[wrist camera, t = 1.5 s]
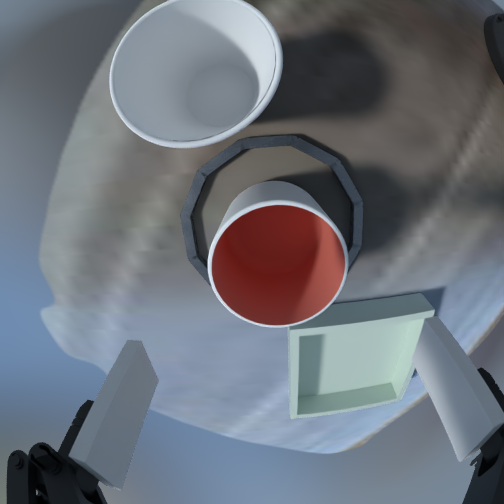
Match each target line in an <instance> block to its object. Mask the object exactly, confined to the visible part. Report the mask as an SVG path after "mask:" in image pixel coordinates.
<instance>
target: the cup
mask: <svg viewBox="0 0 504 504" xmlns="http://www.w3.org/2000/svg"><path fill="white" fill-rule="evenodd" d="M347 272H348V252H347V247H346V244H345V241H344V238H343V236H342V234H341V232H340V231H339V229H338V228H337V226H336V225H335V224H334V223H333V221H332V220H331V219H330V218H329V217H328V215H327V214H326V213H325V212H324V211H323V209H322V208H321V207H320V206H319V205H318V203H317V202H316V201H315V200H314V199H313V198H312V197H311V195H309V194H308V193H307V192H306V191H305V190H303V189H302V188H300V187H298V186H296V185H294V184H291V183H288V182H283V181H267V182H261V183H258V184H255V185H253V186H250V187H249V188H247V189H245V190H244V191H243V192H241V193H240V194H239V195H238V196H237V197H236V198H235V199H234V200H233V202H232V203H231V205H230V206H229V208H228V210H227V212H226V214H225V216H224V218H223V220H222V223H221V225H220V227H219V229H218V231H217V233H216V235H215V237H214V240H213V242H212V244H211V247H210V251H209V255H208V274H209V280H210V283H211V286H212V288H213V290H214V292H215V294H216V296H217V297H218V299H219V300H220V302H221V303H222V304H223V305H224V306H225V307H226V308H227V309H228V310H229V311H230V312H231V313H233V314H234V315H236V316H237V317H239V318H241V319H243V320H245V321H247V322H249V323H252V324H255V325H259V326H264V327H288V326H294V325H297V324H301V323H304V322H306V321H308V320H310V319H312V318H314V317H316V316H318V315H319V314H320V313H322V312H323V311H324V310H326V309H327V308H328V307H329V306H330V305H331V304H332V303H333V302H334V300H335V299H336V298H337V296H338V295H339V293H340V291H341V290H342V288H343V285H344V283H345V280H346V277H347Z"/></svg>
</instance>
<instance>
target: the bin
mask: <svg viewBox="0 0 504 504" xmlns="http://www.w3.org/2000/svg"><path fill="white" fill-rule="evenodd" d="M434 312H435V309H434V308H433V307H432V305H431V304H430V303H429V302H428V301H427V299H426V298H425V297H424V296H423V295H422V293H416V294H409V295H402V296H395V297H388V298H381V299H373V300H365V301H357V302H348V303H339V304H331V305H330V306H329V307H328V308H327V309H326V310H324V311H323V312H322V313H320V314H319V315H318V316H316V317H314V318H312V319H310V320H308V321H306V322H304V323H301V324H297V325H294V326H288V364H289V409H290V419H294V418H305V417H315V416H323V415H330V414H337V413H343V412H349V411H355V410H360V409H365V408H370V407H375V406H380V405H384V404H388V403H392V402H396V401H400V400H401V399H402V397H403V395H404V393H405V391H406V389H407V386H408V384H409V382H410V379H411V377H412V375H413V372H414V370H415V366H414V364H413V362H412V361H411V360H412V357H413V354H414V351H415V348H416V345H417V342H418V339H419V336H420V333H421V330H422V326H423V323H424V319H425V318H429V317H433V315H434Z"/></svg>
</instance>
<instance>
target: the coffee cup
mask: <svg viewBox="0 0 504 504" xmlns="http://www.w3.org/2000/svg"><path fill="white" fill-rule="evenodd" d="M268 31H269V32H268ZM272 40H273V41H272ZM273 44H274V45H273ZM275 55H276V58H275ZM275 62H276V65H275ZM282 68H283V52H282V46H281V42H280V39H279V37H278V34H277V32H276V30H275V28H274V27H273V25H272V24H271V22H270V21H269V20H268V19H267V18H266V17H265V16H264V15H263V14H262V13H261V12H260V11H259V10H258V9H256V8H255V7H253V6H252V5H250V4H248V3H247V2H245V1H242V0H169V1H167V2H165V3H162V4H160V5H159V6H157V7H155V8H153V9H152V10H150V11H149V12H147V13H146V14H145V15H143V16H142V17H141V18H140V19H139V20H138V21H137V22H136V23H135V24H134V25H133V26H132V27H131V28H130V29H129V30H128V32H127V33H126V34H125V36H124V37H123V39H122V40H121V42H120V44H119V46H118V48H117V50H116V52H115V55H114V57H113V61H112V64H111V70H110V92H111V97H112V101H113V104H114V106H115V108H116V110H117V112H118V114H119V116H120V117H121V119H122V120H123V122H124V123H125V124H126V125H127V126H128V127H129V128H130V129H131V130H132V131H133V132H135V133H136V134H137V135H139V136H140V137H142V138H144V139H146V140H148V141H150V142H152V143H155V144H158V145H161V146H166V147H172V148H195V147H201V146H206V145H210V144H213V143H216V142H219V141H222V140H224V139H226V138H228V137H231V136H232V135H234V134H236V133H238V132H239V131H241V130H242V129H244V128H245V127H247V126H248V125H249V124H250V123H252V122H253V121H254V120H255V119H256V118H257V117H258V116H259V115H260V114H261V113H262V112H263V110H264V109H265V108H266V107H267V105H268V104H269V102H270V101H271V99H272V98H273V96H274V94H275V92H276V90H277V87H278V85H279V82H280V79H281V74H282ZM158 137H159V138H158ZM162 138H163V139H162ZM171 140H173V141H171Z"/></svg>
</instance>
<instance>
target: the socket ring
mask: <svg viewBox="0 0 504 504" xmlns="http://www.w3.org/2000/svg"><path fill="white" fill-rule="evenodd" d="M275 146H292V147H294V148H296V149H298V150H300V151H302V152H304V153H306V154H308V155H310V156H312V157H314V158H316V159H318V160H319V161H321V162H323V163H325V164H327V165H329V166H330V167H331V169H332V171H333V172H334V174H335V176H336V177H337V179H338V181H339V182H340V184H341V186H342V187H343V189H344V191H345V192H346V194H347V196H348V198H349V199H350V201H351V235H350V243H349V245H348V247H347V252H348V268H349V267H350V265H351V263H352V262H353V260H354V259H355V257H356V255H357V254H358V252H359V250H360V249H361V247H362V228H363V202H362V201H363V200H362V198H361V197H360V195H359V193H358V191H357V189H356V188H355V186H354V184H353V182H352V180H351V179H350V177H349V175H348V173H347V172H346V170H345V168H344V167H343V165H342V163H341V162H340V160H338V158H336V157H334V156H332V155H330V154H329V153H327V152H325V151H323V150H321V149H319V148H318V147H316V146H314V145H312V144H310V143H308V142H306V141H304V140H302V139H300V138H298V137H296V136H294V135H293V136H292V135H283V136H268V137H255V138H244V139H239V140H238V141H236V142H235V143H233V144H232V145H231V146H229V147H228V148H226V149H225V150H224V151H222V152H221V153H219V154H218V155H217V156H215V157H214V158H213V159H211V160H210V161H209V162H207V163H206V164H205V165H203V166H202V167H201V168H199V169H198V171H197V173H196V175H195V178H194V180H193V183H192V185H191V188H190V190H189V193H188V195H187V198H186V201H185V203H184V206H183V209H182V211H181V215H180V218H181V223H182V229H183V235H184V240H185V245H186V251H187V256H188V259H189V261H190V262H191V264H192V265H193V266H194V267H195V268H196V270H197V271H198V272H199V273H200V274H201V275H202V277H203V278H204V279H205V280H206V281H207V282H208V284H209V285H210V286H211V283H210V280H209V274H208V264H207V262H206V261H205V260H204V259H203V258H202V256H201V255H200V254H199V251H198V246H197V240H196V234H195V228H194V222H193V216H192V213H193V211H194V208H195V206H196V203H197V201H198V198H199V196H200V193H201V191H202V188H203V186H204V184H205V181H206V179H207V177H208V175H209V174H210V173H211V172H213V171H214V170H215V169H217V168H218V167H220V166H221V165H222V164H224V163H225V162H226V161H228V160H229V159H231V158H232V157H233V156H235V155H236V154H238V153H239V152H241V151H242V150H243V149H250V148H261V147H275ZM211 287H212V286H211Z"/></svg>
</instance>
